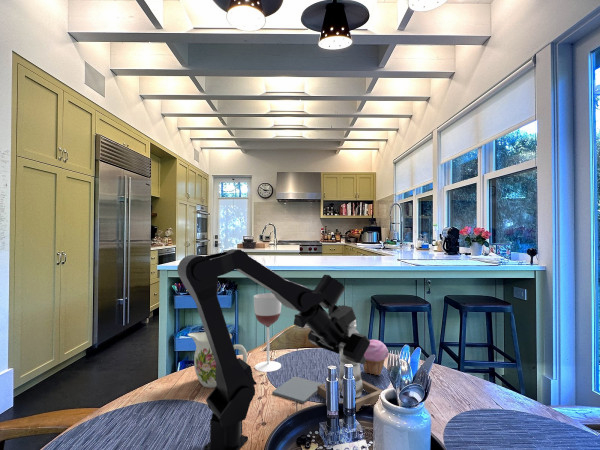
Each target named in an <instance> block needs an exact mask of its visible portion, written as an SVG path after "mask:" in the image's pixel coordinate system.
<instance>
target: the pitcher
mask: <svg viewBox="0 0 600 450" xmlns="http://www.w3.org/2000/svg"><path fill="white" fill-rule="evenodd" d="M229 334H230V337H231V339H232V337H233V334H231V333H230V332H229ZM187 336H188V337H190V338H191V339H193V341H194V344H195V347H196V348H195V352H194V356H193V357H194V359H193V360H194V361H193V364H194V365H193V366H194V369H195V370H194V371H195V375H196V377H197V379H198V381H199V382H200V384H201V386H202V387H205V388H210V389H211V388H215V387H216V386H217V384H216V377H215V373H216V362H215V359H214V356H213V353H212V350H211V347H210V344H209V341H208V338H207V335H206V333H205V331H202V332H189V333H187ZM233 347H234V350H235V351H236V350H239V351H240V352H241V355H242V360H243V361H244V362H246V363H247V364H248V353H247V350H246V348H245V347H244V346H243V345H242V344H233Z"/></svg>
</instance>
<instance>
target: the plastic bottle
mask: <svg viewBox="0 0 600 450" xmlns="http://www.w3.org/2000/svg"><path fill="white" fill-rule="evenodd" d="M346 328H347V329H348V330H347V332H346V333H344V335H346V336H349V337H350V336H351V335H352V334H353V333H358V334H360V332H359V331H358V330H357V319H356V320H355V321H352V322H351V323H350V324H349V325H348V326H346ZM338 346H339V353H340V354H339V375H338V377H339V378H338V379H339V386H340V391H341V392H342V378H343V375H344V365H345V364H352V365H353V374H354V378H355V382H356V385H355V386H356V399H359V398H361V396H362V394H363V384H362V380H363V379H362V375H361V374H362V372H361V364H360V363H355V362H352V361H350V360H348V359H346V357H345V356H344V355H343V348H344V346H345V345H342V344H339V345H338ZM356 399H355V400H356Z"/></svg>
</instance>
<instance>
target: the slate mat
mask: <svg viewBox="0 0 600 450" xmlns="http://www.w3.org/2000/svg"><path fill="white" fill-rule="evenodd" d="M322 384H323V382H322V383H321V382H319V381H313V380H309V379H306V378H302V377H298V376H293V377H291V378H290V379H288V380H287V381H286V382H284V383H283V384H281V385H280V386H278V387H277V388H276V389H274V390H273V391H272V395H275V396H277V397H281V398H284V399H288V400H290V401H295V402H298V403H301V404H306V403H307V402H308V401H309V400H310V399H311V398H313V397H314V396H315V395H316V394H318V388H317V386H319V385H322Z"/></svg>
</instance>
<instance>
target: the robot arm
mask: <svg viewBox="0 0 600 450" xmlns="http://www.w3.org/2000/svg"><path fill="white" fill-rule="evenodd" d="M235 270H236V272H239V273H240V274H242V275H244V276H245V277H246V278H248V279H250V280H252V281H253V282H254V283H256V284H258V285H260V286H261V287H263V288H264V289H266V290H267V291H270V293H273V294H274V295H275V297H276V298H277V299H278V300H279V301H280V302H281V305H282V306H284V307H285V308H288V309H291V310H292V311H293V310H294V311H296V312H298V313H296V314H294V320H293V325H294V326H297V327H298V328H302V329H304V328H305V326H307V327H308V328H309V329H310V331H309V332H308V334H307V340H308V341H309V342H310V343H311V344H313V345H315V346H317V347H319V348H321V349H324V350H327V351H329V352H332V353H336V354H338V355H340V353H339V346H338V345H339V344H342V345H345V346H344V348H343V355H344V356H345V357H346V359H348V360H350V361H352V362H355V363H360V365H363V364H365V362H366V360H365V356H364V354H365V352H366V350H367V348H368V346H369V345H370V340H371V339H369V338H368V337H367V336H366V335H364V334H361V333H359V332H358V333H359V334H358V333H353V334H352V335H351V336H350V337H349V336H346V335H344V333H346V332H347V330H348V329H347V328H346V326H348V325H349V324H350V323H351V322H352V321H355V320H356V321H357V316H356V313H355V312H354V308H353V307H352V306H348V305H336V304H337V302H338V301H339V300H340V298H341V297H342V295H343V294H344V292H345V290H346V287H345V286H344V284H343V283H342V282H339V281H338V280H337V279H336V278H333V277H332V276H331V275H330V274H323V276H322V278H321V279H320V281H319V282H318V284H317V285H316V286H315V288H314V289H311V288H309V287H307V286H305V285H302V284H300V283H297V282H294V281H290V280H288V279H286V278H284V277H283V276H281V275H280V274H279V273H277V272H275V271H273V270H272V269H270V268H269V267H267V266H266V265H265V264H263V263H262V262H260V261H259V260H257V259H255V258H254V257H252V256H251V255H249V254H248V253H247V251H245V250H243V249H237V248H233V249H232V248H231V249H228V250H226V251H222V252H217V253H212V254H208V255H199V254H198V255H197V254H189V255H186V256H184V257H183V258H182V259H181V260H180V262H179V263H178V264H177V269H176V271H177V275H178V278H179V279H180V280H181V282H182V284H183V286H184V287H185V289H186V291H187V292H188V294H189V295H190V297H191V298H192V300H193V301H194V302H195V305H196V309H197V312H198V313H199V317H200V320H201V323H202V326H203V329H204V332H205V333H206V335H207V338H208V341H209V344H210V347H211V350H212V353H213V356H214V359H215V362H216V373H215V377H216V384H217V386H216V387H213V390H212V391H211V392H210V393H209V395H208V396H207V397H206V398H205V402H206V406H208V409H210V411H211V412H212V414H211V418H210V424H209V427H210V428H209V432H210V433H209V442H208V443H207V444H206V445H204V446H203V450H240V449H241V448H242V447H243V446H244V445H245V444H246V443H247V442H248V441H249V436H247V435H244V434H243V421H245V420H246V419H247V416H248V412H249V409H250V406H251V402H252V401H253V399H254V398H255V395H256V388H255V387H256V385H258V383H257V382H256V380H255V378H254V377H253V376H254V375H253V369H252V367H251V365H250V364H249V363H248V362H247V363H246V362H244V361H243V358H240V357H238V356H237V354H236V349H235V350H234V347H233V345H234V344H233V341H232V338H231V337H230V334H231V333H230V331H229V329H228V325H227V323H226V319H225V316H224V313H223V311H222V307H221V304H220V301H219V298H218V289H219V280H218V279H219V278H218V277H220V276H224V275H226V274H227V275H228V273H231V272H234V271H235ZM327 309H328V310H327ZM326 310H327V311H328V312H327V311H326ZM229 333H230V334H229Z"/></svg>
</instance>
